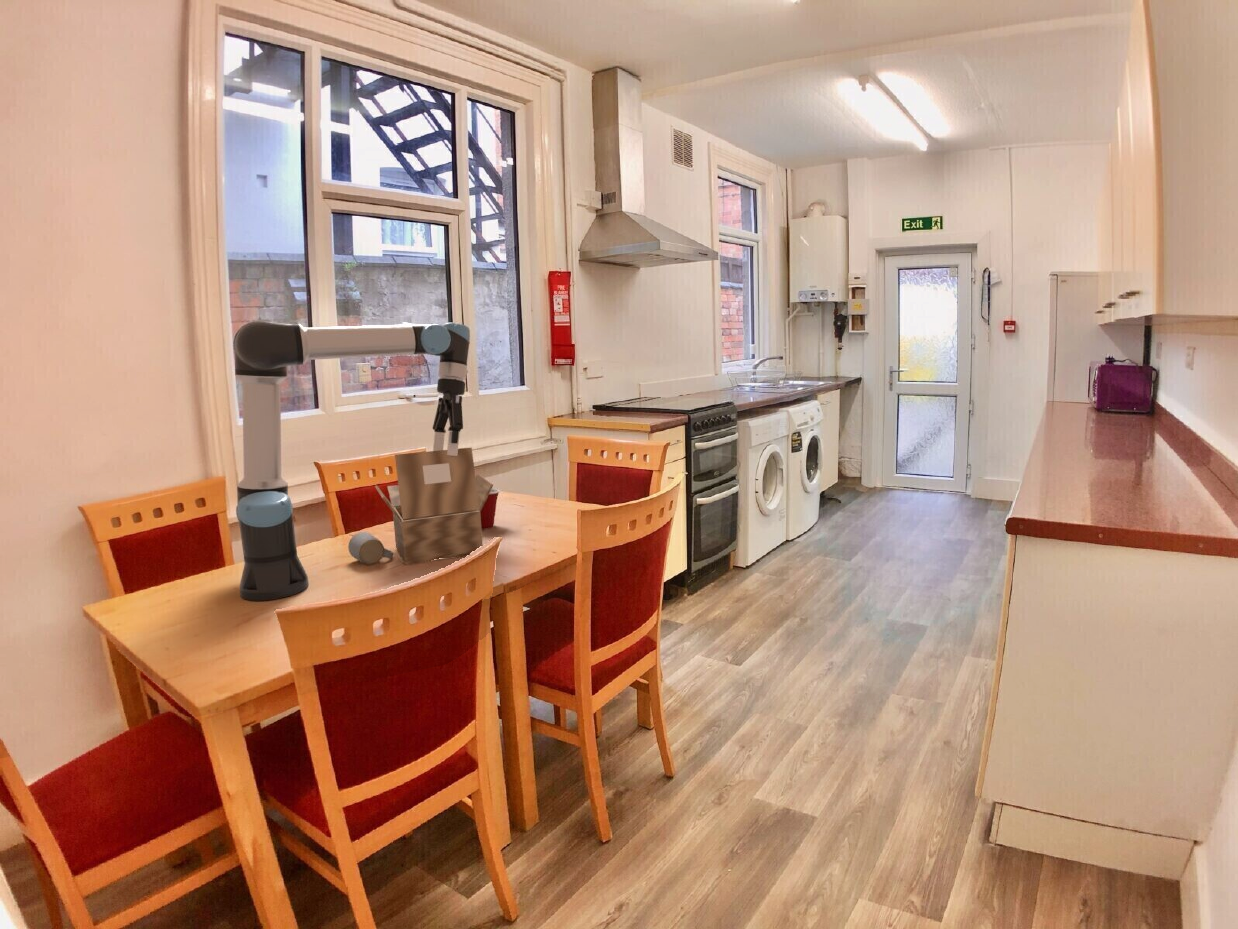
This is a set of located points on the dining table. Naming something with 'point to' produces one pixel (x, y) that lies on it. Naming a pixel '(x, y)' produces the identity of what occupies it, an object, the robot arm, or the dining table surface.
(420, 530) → the shipping carton
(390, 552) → the ceramic mug
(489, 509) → the plastic cup
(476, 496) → the carton flap
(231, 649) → the dining table surface
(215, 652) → the dining table surface
